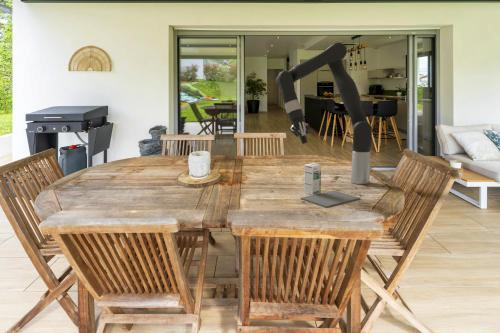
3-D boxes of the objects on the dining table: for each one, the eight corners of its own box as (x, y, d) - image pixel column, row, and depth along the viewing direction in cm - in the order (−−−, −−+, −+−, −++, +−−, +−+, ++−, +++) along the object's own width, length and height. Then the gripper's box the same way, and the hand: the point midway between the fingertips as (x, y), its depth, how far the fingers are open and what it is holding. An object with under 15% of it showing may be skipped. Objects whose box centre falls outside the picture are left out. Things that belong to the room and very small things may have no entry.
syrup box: (312, 195, 182) (313, 165, 179) (303, 193, 186) (304, 164, 183) (320, 193, 185) (321, 164, 182) (312, 191, 190) (312, 162, 187)
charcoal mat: (334, 191, 189) (334, 190, 188) (360, 199, 176) (360, 197, 176) (300, 199, 176) (300, 197, 176) (326, 207, 163) (326, 206, 163)
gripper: (297, 111, 197) (308, 143, 197) (280, 114, 189) (291, 148, 188) (308, 106, 191) (319, 139, 191) (290, 109, 183) (301, 143, 182)
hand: (305, 143), depth 189 cm, fingers closed
